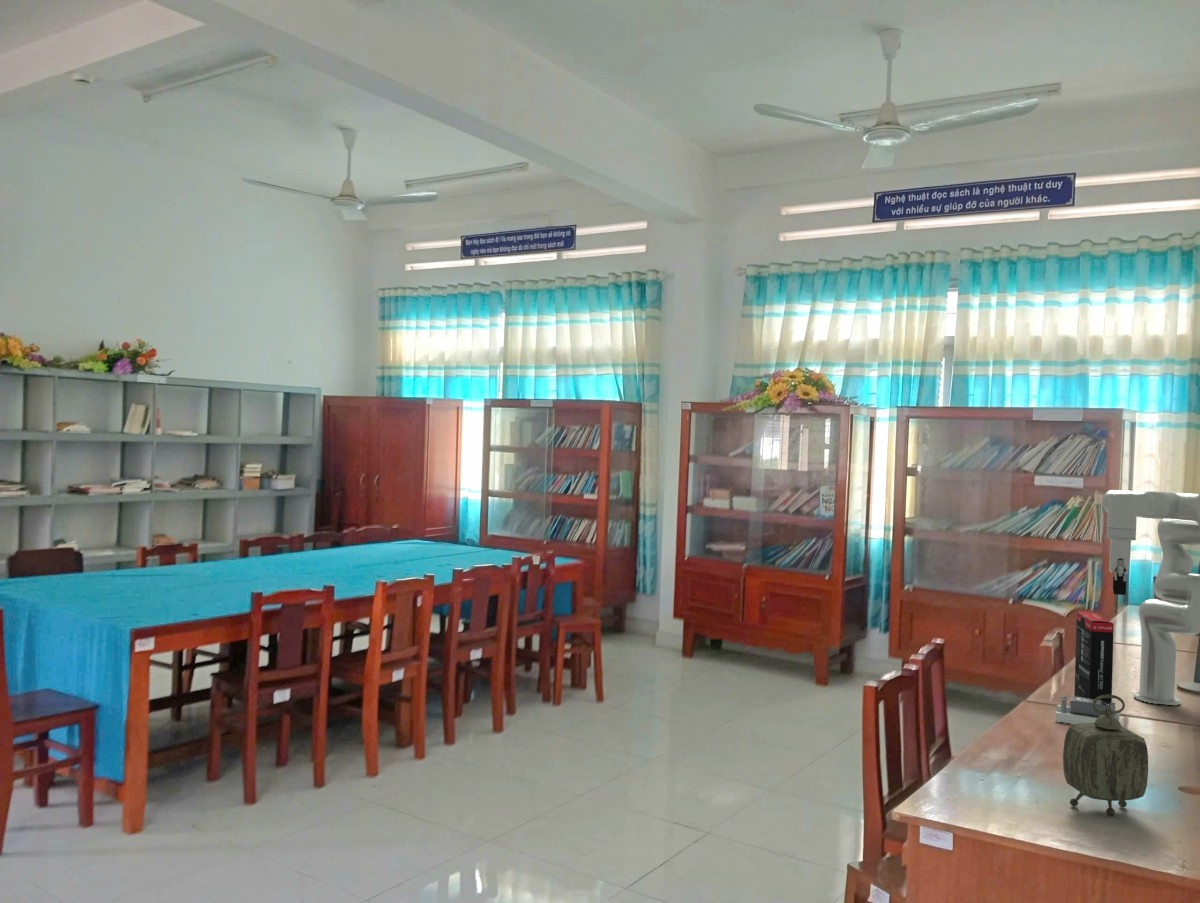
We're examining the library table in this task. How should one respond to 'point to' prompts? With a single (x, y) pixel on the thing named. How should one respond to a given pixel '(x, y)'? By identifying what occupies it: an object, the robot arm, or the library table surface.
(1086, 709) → the block
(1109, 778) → the tabletop clock
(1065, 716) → the white and grey device
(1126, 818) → the library table surface
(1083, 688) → the graphics card box
